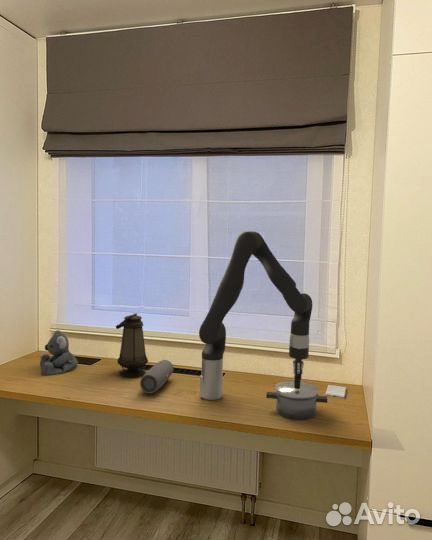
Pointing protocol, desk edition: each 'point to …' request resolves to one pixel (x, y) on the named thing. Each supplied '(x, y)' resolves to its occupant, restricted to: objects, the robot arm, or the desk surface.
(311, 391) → the lid
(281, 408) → the pot
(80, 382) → the desk surface
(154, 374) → the bluetooth speaker
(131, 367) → the lantern
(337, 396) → the hard drive
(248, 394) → the desk surface
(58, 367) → the koala plush
